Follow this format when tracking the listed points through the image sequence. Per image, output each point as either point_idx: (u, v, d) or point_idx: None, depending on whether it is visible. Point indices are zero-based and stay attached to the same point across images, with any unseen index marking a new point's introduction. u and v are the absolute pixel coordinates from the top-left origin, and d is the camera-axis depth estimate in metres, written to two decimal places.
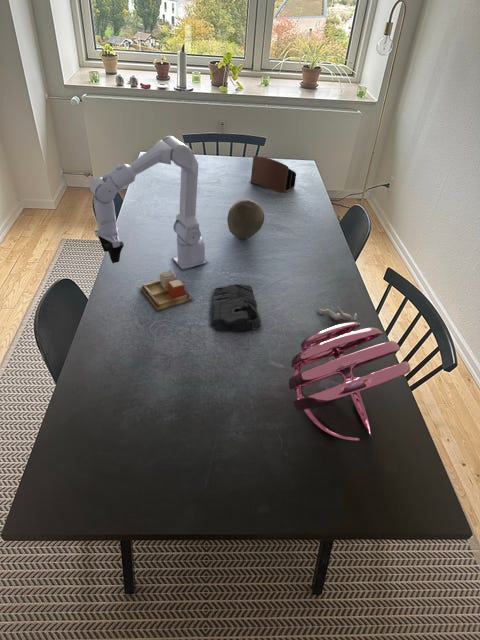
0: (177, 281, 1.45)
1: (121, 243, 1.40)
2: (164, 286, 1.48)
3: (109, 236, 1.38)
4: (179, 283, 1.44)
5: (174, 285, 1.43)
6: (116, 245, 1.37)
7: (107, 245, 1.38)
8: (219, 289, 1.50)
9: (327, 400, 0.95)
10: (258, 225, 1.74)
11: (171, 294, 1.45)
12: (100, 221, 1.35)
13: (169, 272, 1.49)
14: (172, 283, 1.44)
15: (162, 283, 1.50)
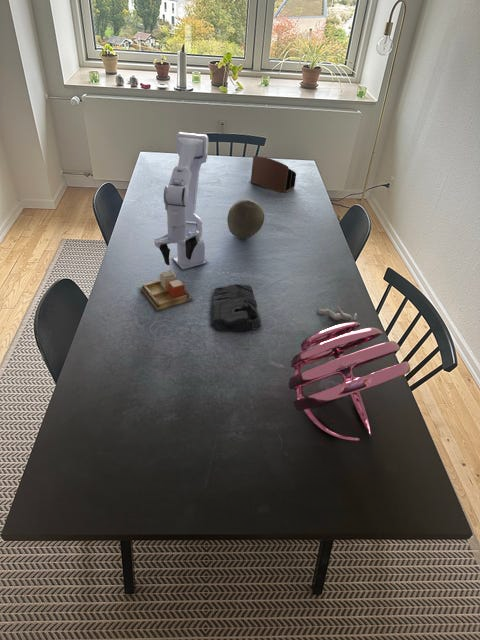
0: (177, 281, 1.45)
1: None
2: (164, 286, 1.48)
3: (186, 235, 1.43)
4: (179, 283, 1.44)
5: (174, 285, 1.43)
6: None
7: (193, 241, 1.44)
8: (219, 289, 1.50)
9: (327, 400, 0.95)
10: (258, 225, 1.74)
11: (171, 294, 1.45)
12: (184, 225, 1.38)
13: (169, 272, 1.49)
14: (172, 283, 1.44)
15: (162, 283, 1.50)
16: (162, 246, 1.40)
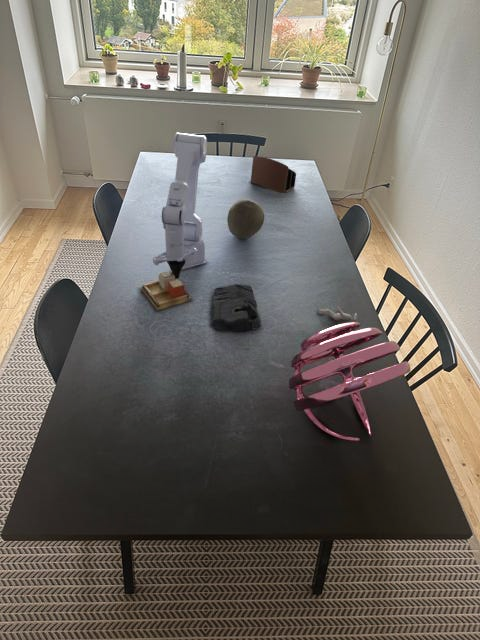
0: (177, 281, 1.45)
1: None
2: (163, 286, 1.48)
3: (184, 252, 1.46)
4: (179, 283, 1.44)
5: (174, 285, 1.43)
6: None
7: (181, 261, 1.46)
8: (219, 289, 1.50)
9: (327, 400, 0.95)
10: (258, 225, 1.74)
11: (171, 294, 1.45)
12: (182, 243, 1.41)
13: (168, 272, 1.49)
14: (172, 283, 1.44)
15: (160, 283, 1.50)
16: (171, 261, 1.45)
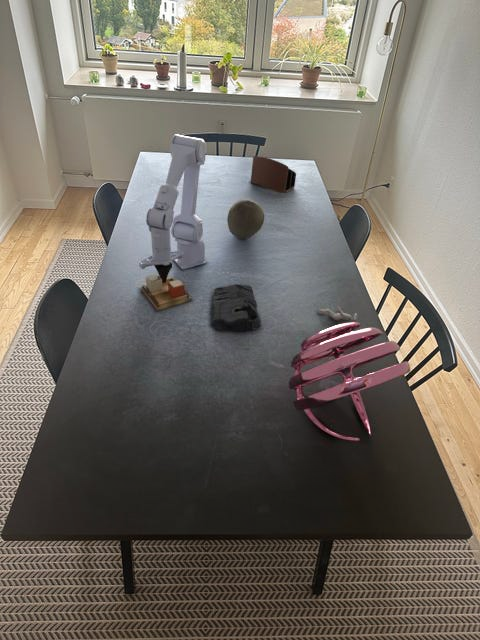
0: (177, 281, 1.45)
1: None
2: (150, 290, 1.46)
3: (171, 256, 1.44)
4: (179, 283, 1.44)
5: (174, 285, 1.43)
6: None
7: (168, 265, 1.44)
8: (219, 289, 1.50)
9: (327, 400, 0.95)
10: (258, 225, 1.74)
11: (171, 294, 1.45)
12: (169, 246, 1.39)
13: (155, 276, 1.47)
14: (172, 283, 1.44)
15: (148, 287, 1.48)
16: (157, 265, 1.43)
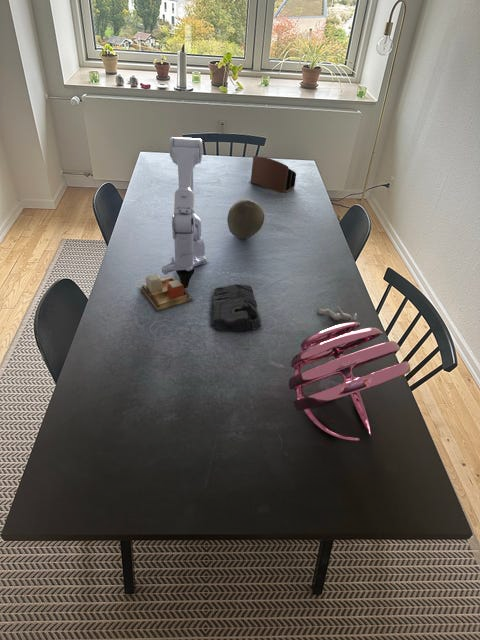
0: (176, 281, 1.45)
1: None
2: (150, 290, 1.46)
3: (193, 261, 1.42)
4: (178, 283, 1.44)
5: (173, 285, 1.43)
6: None
7: (191, 270, 1.42)
8: (219, 289, 1.50)
9: (327, 400, 0.95)
10: (258, 225, 1.74)
11: (170, 294, 1.45)
12: (192, 252, 1.38)
13: (155, 276, 1.47)
14: (171, 283, 1.44)
15: (148, 287, 1.48)
16: (180, 270, 1.41)
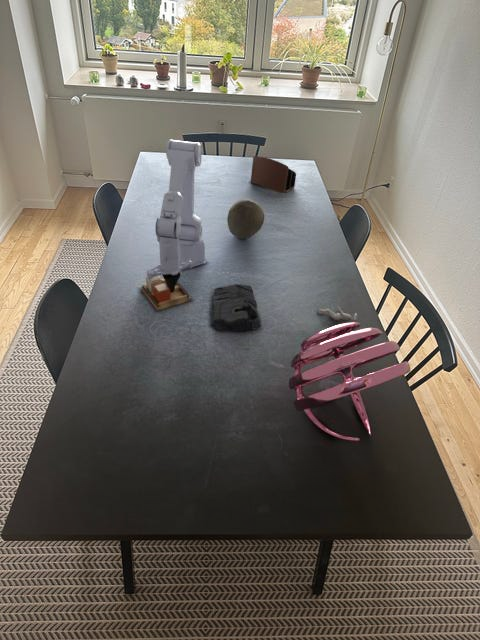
0: (163, 285, 1.43)
1: None
2: (150, 290, 1.46)
3: (179, 265, 1.40)
4: (165, 287, 1.42)
5: (159, 289, 1.41)
6: None
7: (176, 274, 1.40)
8: (219, 289, 1.50)
9: (327, 400, 0.95)
10: (258, 225, 1.74)
11: (157, 298, 1.43)
12: (177, 256, 1.36)
13: (155, 276, 1.47)
14: (158, 287, 1.42)
15: (148, 287, 1.48)
16: (165, 274, 1.39)
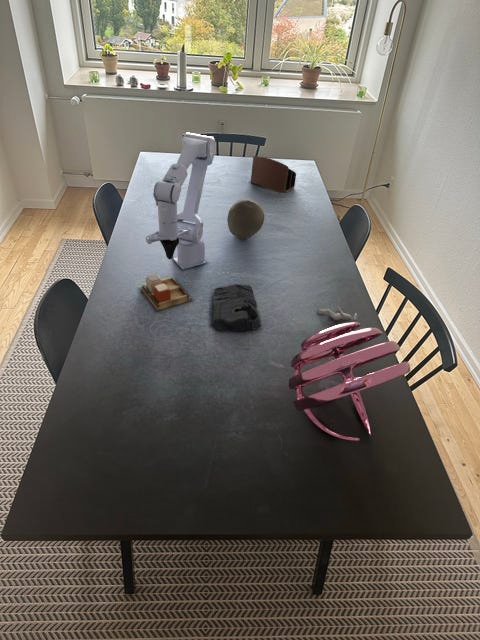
0: (163, 285, 1.43)
1: None
2: (150, 290, 1.46)
3: (178, 232, 1.43)
4: (165, 287, 1.42)
5: (160, 289, 1.41)
6: None
7: (175, 240, 1.43)
8: (219, 289, 1.50)
9: (327, 400, 0.95)
10: (258, 225, 1.74)
11: (157, 298, 1.43)
12: (176, 221, 1.39)
13: (155, 276, 1.47)
14: (158, 287, 1.42)
15: (148, 287, 1.48)
16: (164, 240, 1.42)
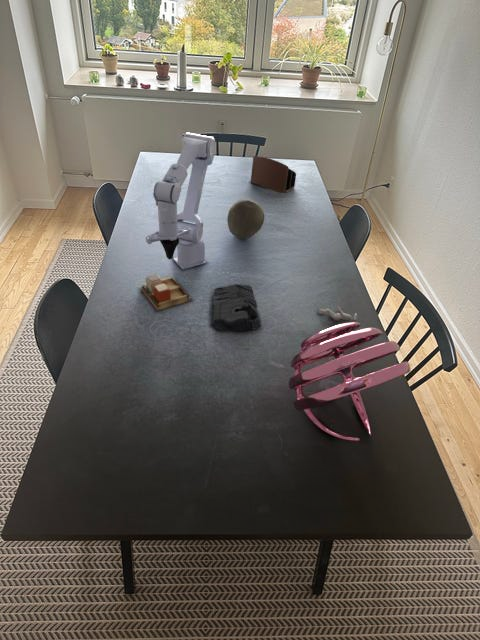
0: (163, 285, 1.43)
1: None
2: (150, 290, 1.46)
3: (178, 232, 1.43)
4: (165, 287, 1.42)
5: (160, 289, 1.41)
6: None
7: (175, 240, 1.43)
8: (219, 289, 1.50)
9: (327, 400, 0.95)
10: (258, 225, 1.74)
11: (157, 298, 1.43)
12: (176, 221, 1.39)
13: (155, 276, 1.47)
14: (158, 287, 1.42)
15: (148, 287, 1.48)
16: (164, 240, 1.42)
